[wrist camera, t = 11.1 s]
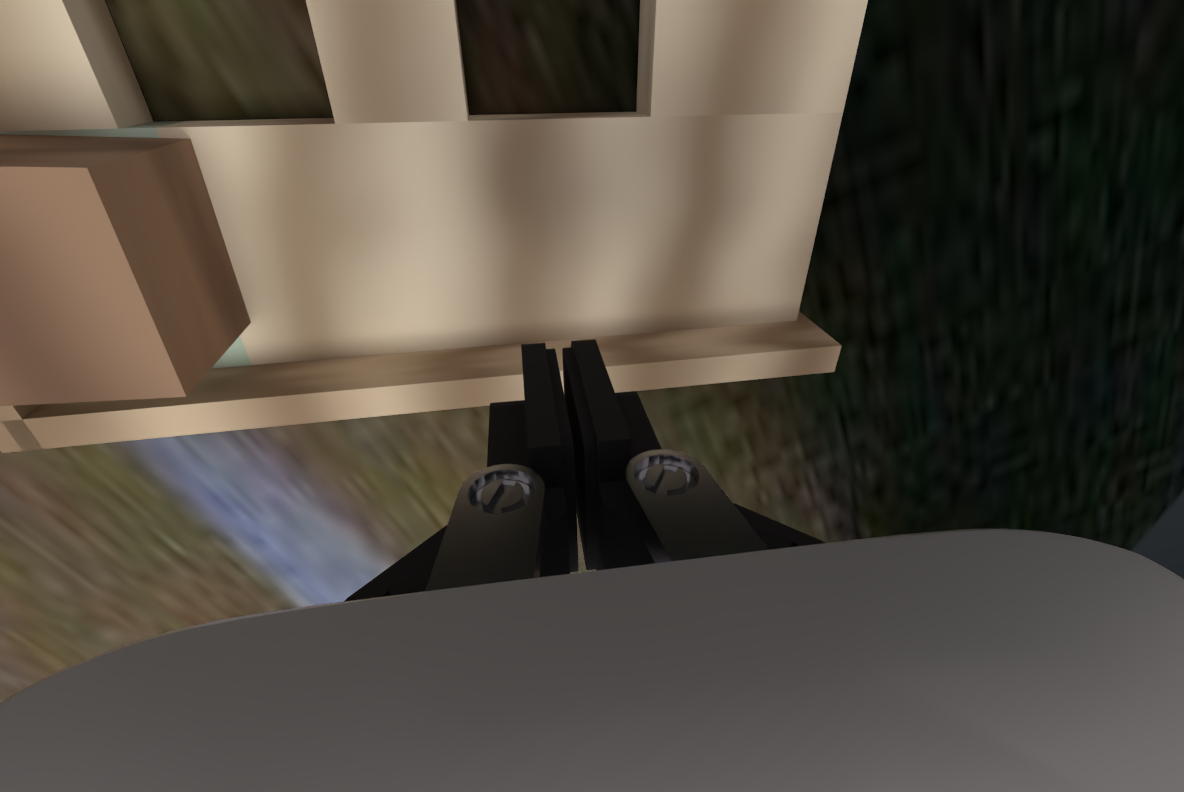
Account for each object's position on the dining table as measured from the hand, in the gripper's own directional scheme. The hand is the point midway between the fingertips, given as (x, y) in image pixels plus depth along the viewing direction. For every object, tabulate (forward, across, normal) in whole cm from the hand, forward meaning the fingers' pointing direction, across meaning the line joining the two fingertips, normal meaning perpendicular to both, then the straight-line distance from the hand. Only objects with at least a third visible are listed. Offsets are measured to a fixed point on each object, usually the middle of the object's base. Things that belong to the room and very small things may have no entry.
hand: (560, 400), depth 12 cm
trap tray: (+11, +3, -4) cm, 12 cm away
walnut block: (+9, +13, -2) cm, 16 cm away
